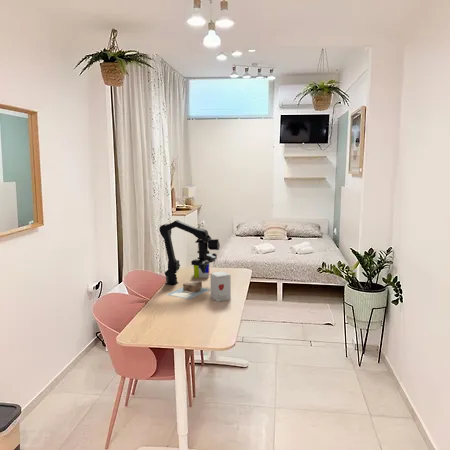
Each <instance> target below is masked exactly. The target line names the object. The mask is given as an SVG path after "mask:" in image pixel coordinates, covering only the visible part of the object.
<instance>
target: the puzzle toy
mask: <svg viewBox="0 0 450 450" xmlns="http://www.w3.org/2000/svg"><path fill="white" fill-rule="evenodd" d="M208 262H209V261H208ZM193 277H194V278H195V279H196V278H197V279H198V278H200V279H201V278H210V263H209V264H208V265H207V267H206V271H205V273H202V271H201V269H200V267H199V266H197V265H193Z"/></svg>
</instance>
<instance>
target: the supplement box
mask: <svg viewBox="0 0 450 450" xmlns="http://www.w3.org/2000/svg"><path fill="white" fill-rule="evenodd" d="M209 278H210V289H211V290H210V299H212V300H214V301H216V302H217V303H219V302H223V301H224V302H225V301H228V300H231V299H232V297H231V296H232V295H231V294H232V293H231V291H232V290H231V288H232V287H231V283H232V282H231V273H228V272H226V271H217V272H209Z"/></svg>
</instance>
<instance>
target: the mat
mask: <svg viewBox="0 0 450 450" xmlns="http://www.w3.org/2000/svg"><path fill="white" fill-rule="evenodd" d="M209 291H211V288H206V287H202V288H200V291H199V292H197V293H196V292H190V291H185V290H183V287H181V288H177V289H176V290H173V291H171V292H169V293H166V296H172V297H176V298H180V299H181V298H182V299H187V300H192V299H193V298H196V297H198V296H200V295H201V294H204V293H206V292H209Z"/></svg>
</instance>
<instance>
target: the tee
mask: <svg viewBox="0 0 450 450" xmlns="http://www.w3.org/2000/svg"><path fill="white" fill-rule="evenodd" d="M182 288H183V290H185V291H190V292H196V293H197V292H199V291H200V288H203V282H202V281H200V280H195V281H192V282H189V281H188V282H185V283H183V284H182Z"/></svg>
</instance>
